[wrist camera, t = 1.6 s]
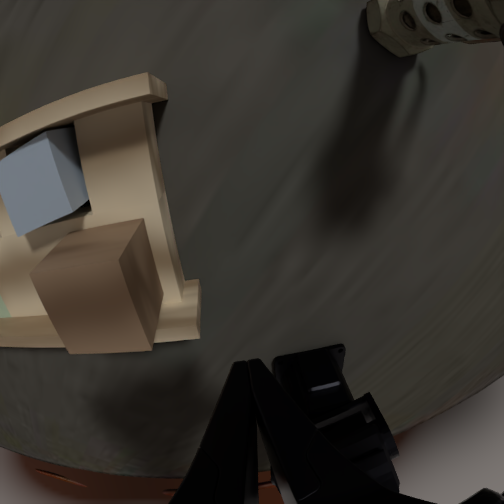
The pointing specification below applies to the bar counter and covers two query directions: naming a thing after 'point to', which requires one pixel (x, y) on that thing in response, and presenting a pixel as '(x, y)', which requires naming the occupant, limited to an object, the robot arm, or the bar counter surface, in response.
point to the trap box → (97, 205)
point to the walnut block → (102, 289)
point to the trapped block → (43, 180)
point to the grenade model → (433, 23)
